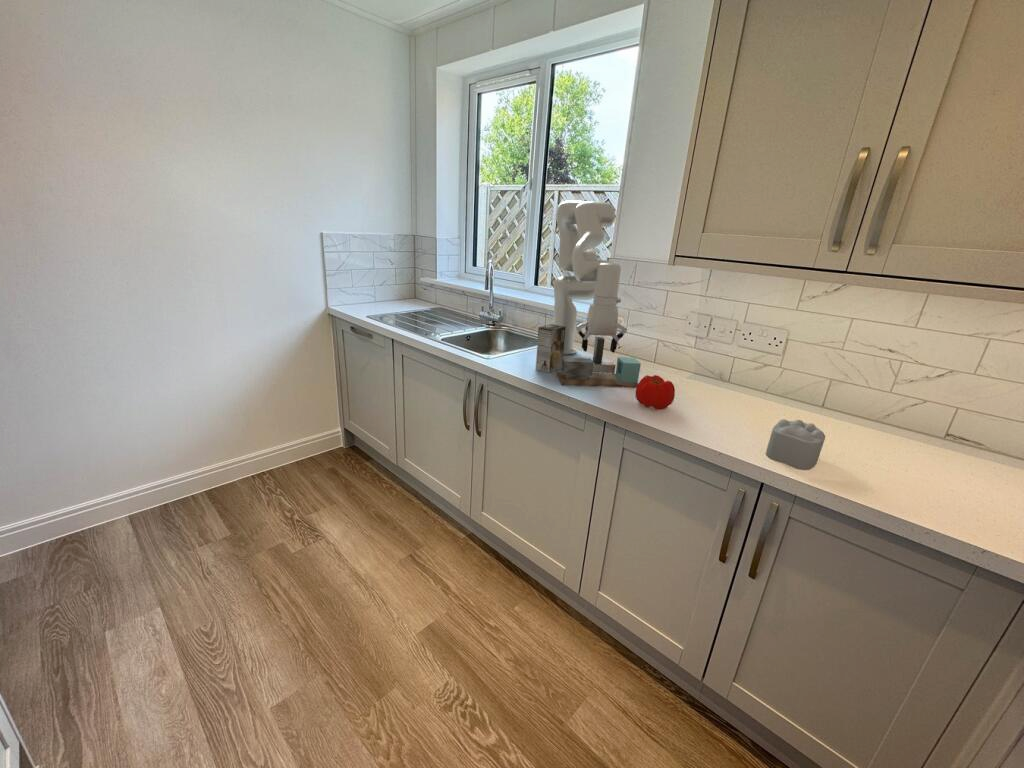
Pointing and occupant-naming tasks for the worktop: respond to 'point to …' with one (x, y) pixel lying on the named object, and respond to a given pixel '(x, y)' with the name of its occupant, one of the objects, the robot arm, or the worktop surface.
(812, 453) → the lumpy-topped squat cylinder
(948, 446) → the worktop surface
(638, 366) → the socket block
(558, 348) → the coffee box
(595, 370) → the grey l-shaped piece
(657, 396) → the tomato
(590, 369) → the sleeve base
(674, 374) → the worktop surface
